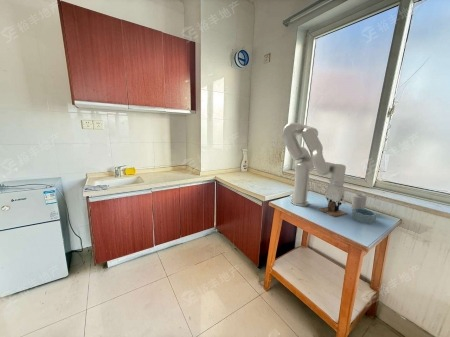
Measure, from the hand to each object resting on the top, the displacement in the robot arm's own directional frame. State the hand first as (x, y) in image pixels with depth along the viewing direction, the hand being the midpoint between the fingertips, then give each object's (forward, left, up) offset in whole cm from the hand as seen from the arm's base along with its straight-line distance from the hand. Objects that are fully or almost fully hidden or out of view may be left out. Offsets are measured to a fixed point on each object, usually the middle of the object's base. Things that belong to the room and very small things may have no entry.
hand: (333, 209), depth 126 cm
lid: (0, 0, -2) cm, 2 cm away
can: (+5, +18, -2) cm, 19 cm away
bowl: (+15, +8, -2) cm, 17 cm away
